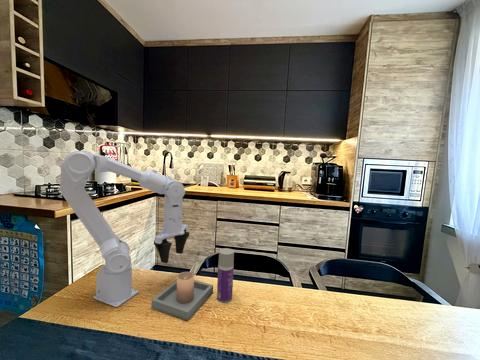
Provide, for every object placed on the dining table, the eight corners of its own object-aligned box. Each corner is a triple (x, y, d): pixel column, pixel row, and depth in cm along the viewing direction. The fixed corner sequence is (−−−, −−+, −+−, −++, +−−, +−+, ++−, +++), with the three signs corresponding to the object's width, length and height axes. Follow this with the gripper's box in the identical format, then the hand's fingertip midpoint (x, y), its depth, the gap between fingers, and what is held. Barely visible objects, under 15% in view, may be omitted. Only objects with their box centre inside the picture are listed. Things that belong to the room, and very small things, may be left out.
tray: (151, 308, 63) (151, 299, 63) (181, 283, 76) (181, 276, 76) (187, 321, 59) (187, 312, 58) (213, 292, 72) (213, 285, 71)
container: (229, 304, 66) (232, 255, 65) (214, 301, 67) (216, 253, 66) (233, 294, 71) (235, 249, 69) (219, 292, 72) (221, 247, 70)
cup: (186, 305, 64) (186, 282, 63) (172, 300, 66) (173, 277, 65) (197, 296, 68) (197, 274, 67) (184, 291, 70) (184, 270, 70)
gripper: (168, 224, 64) (167, 269, 66) (195, 214, 78) (194, 251, 79) (149, 221, 67) (148, 264, 68) (179, 211, 80) (178, 247, 82)
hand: (172, 257), depth 74 cm, fingers open, 7 cm apart
